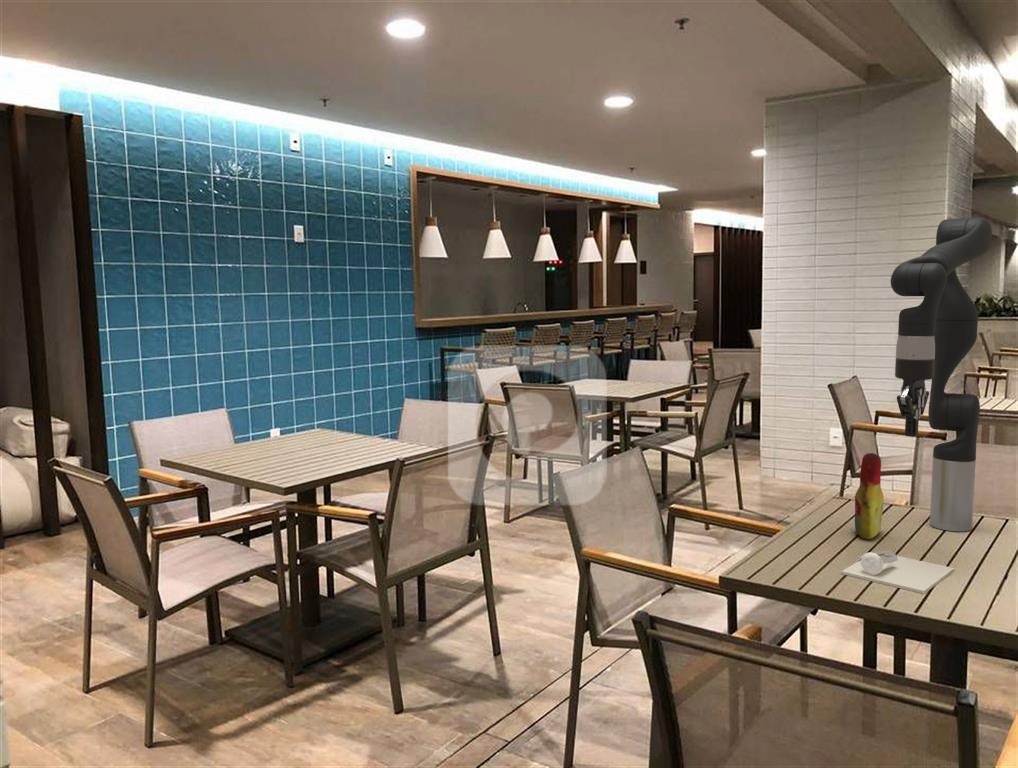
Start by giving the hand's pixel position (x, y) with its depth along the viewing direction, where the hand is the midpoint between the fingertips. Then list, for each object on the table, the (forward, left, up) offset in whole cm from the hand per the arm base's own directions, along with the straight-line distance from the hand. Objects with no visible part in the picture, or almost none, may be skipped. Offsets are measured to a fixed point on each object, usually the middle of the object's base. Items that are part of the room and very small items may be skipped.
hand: (911, 435), depth 175 cm
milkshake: (+11, +1, -24) cm, 27 cm away
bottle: (-9, -12, -27) cm, 31 cm away
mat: (+13, +3, -27) cm, 30 cm away
